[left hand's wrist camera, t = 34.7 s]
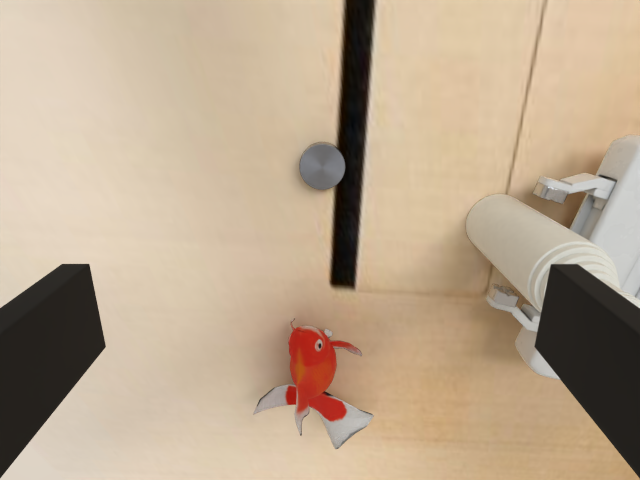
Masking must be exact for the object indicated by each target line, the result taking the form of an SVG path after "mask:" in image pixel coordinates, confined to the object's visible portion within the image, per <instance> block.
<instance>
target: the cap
mask: <svg viewBox="0 0 640 480" xmlns="http://www.w3.org/2000/svg"><path fill="white" fill-rule="evenodd" d="M344 172H345V162H344V158H343V155H342V153H341V152H340V150H339V149H338V148H337V147H336V146H334V145H333V144H330V143H327V142H318V143H314V144H312V145H310V146H309V147H308V148H307V149H306V150H305V151H304V153H303V155H302V157H301V160H300V173H301V176H302V178H303V180H304V181H305V182H306V183H307V184H308V185H309V186H311V187H313V188H315V189H321V190H324V189H329V188H332V187H334V186H335V185H337V184H338V183H339V182H340V180H341V179H342V177H343V175H344Z"/></svg>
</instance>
